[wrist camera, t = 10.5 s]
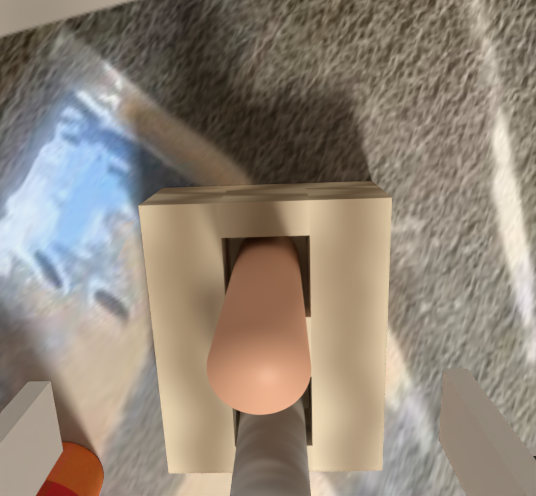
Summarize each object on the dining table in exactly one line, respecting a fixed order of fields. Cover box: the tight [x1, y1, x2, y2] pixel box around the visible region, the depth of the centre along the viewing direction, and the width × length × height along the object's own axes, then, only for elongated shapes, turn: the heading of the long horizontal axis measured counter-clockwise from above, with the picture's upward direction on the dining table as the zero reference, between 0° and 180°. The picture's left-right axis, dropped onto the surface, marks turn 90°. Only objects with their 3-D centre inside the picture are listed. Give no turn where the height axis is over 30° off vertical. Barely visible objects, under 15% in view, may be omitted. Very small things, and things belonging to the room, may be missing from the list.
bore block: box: [138, 181, 392, 496], centre depth 28 cm, size 14×18×14 cm
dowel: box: [207, 236, 311, 415], centre depth 25 cm, size 4×4×14 cm
